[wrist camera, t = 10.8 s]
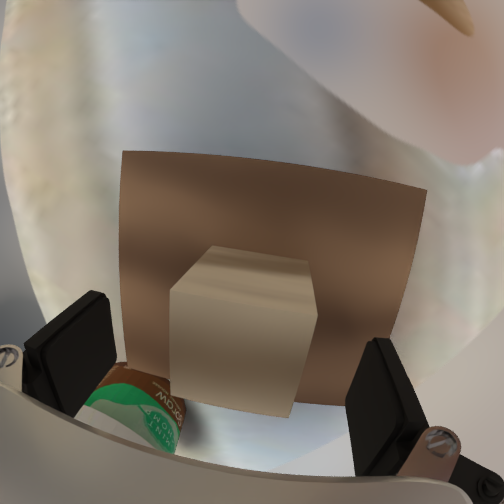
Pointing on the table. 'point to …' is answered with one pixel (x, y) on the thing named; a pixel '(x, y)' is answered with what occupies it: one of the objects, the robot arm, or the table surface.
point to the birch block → (241, 330)
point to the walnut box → (267, 249)
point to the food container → (135, 408)
